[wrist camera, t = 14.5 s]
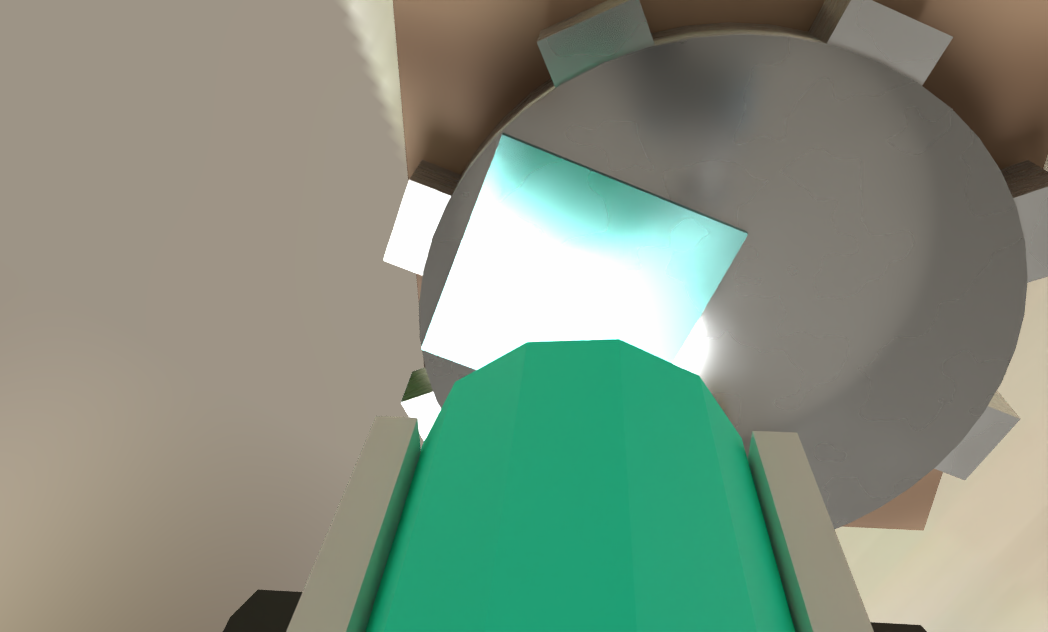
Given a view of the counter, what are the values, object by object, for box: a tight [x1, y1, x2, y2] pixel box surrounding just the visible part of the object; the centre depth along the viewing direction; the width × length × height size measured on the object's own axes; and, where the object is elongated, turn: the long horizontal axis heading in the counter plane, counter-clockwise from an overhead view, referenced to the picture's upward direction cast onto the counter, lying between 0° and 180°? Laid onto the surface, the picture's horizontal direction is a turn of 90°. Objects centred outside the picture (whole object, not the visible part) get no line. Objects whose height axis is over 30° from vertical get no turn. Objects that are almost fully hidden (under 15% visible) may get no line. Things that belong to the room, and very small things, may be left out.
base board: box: [393, 0, 1048, 530], centre depth 25 cm, size 18×18×1 cm
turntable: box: [383, 0, 1048, 529], centre depth 20 cm, size 19×19×8 cm
